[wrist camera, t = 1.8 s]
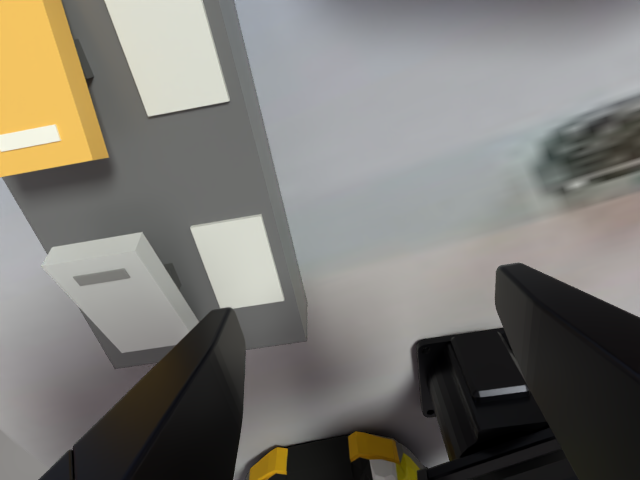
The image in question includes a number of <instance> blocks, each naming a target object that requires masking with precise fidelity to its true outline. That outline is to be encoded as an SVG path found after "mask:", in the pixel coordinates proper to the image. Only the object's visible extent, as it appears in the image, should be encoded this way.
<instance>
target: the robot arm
mask: <svg viewBox="0 0 640 480" xmlns="http://www.w3.org/2000/svg"><path fill="white" fill-rule="evenodd" d="M495 305H496V310H497V313H498V315H499V318H500V320H501V323H502V325H503V328H502V329H495V330H488V331H481V332H474V333H467V334H460V335H453V336H446V337H439V338H431V339H424V340H421V341H419V342H418V343H417V345H416V350H417V362H418V374H419V386H420V397H421V408H422V412H423V415H424V416H425V417H437V420H438V424H439V427H440V430H441V434H442V437H443V441H444V444H445V447H446V451H447V454H448V457H449V462H446V463H443V464H440V465H437V466H434V467H432V468H429V469H428V468H427V467H425V468H423V469H420V470H417V480H640V317H638V316H635V315H633V314H631V313H629V312H627V311H625V310H622V309H620V308H618V307H616V306H614V305H611V304H609V303H607V302H605V301H603V300H601V299H598V298H596V297H594V296H592V295H590V294H588V293H585V292H583V291H581V290H579V289H577V288H575V287H572V286H570V285H568V284H566V283H564V282H561V281H559V280H557V279H555V278H553V277H551V276H548V275H546V274H544V273H542V272H540V271H538V270H535V269H533V268H531V267H529V266H527V265H524V264H522V263H513V264H506V265H501V266H499V267H498V268H497V271H496V284H495ZM426 347H428V348H426ZM423 348H426V349H423ZM245 356H246V344H245V338H244V335H243V332H242V329H241V327H240V324H239V321H238V318H237V315H236V313H235V311H234V309H233V308H231V307H226V308H219V309H214V310H211V311H210V312H209V313H208V314H207V315H206V316H205V317H204V318H203V319H202V320H201V321H200V322H199V323H198V324H197V325H196V326H195V327H194V328H193V329H192V330H191V331H190V332H189V333H188V334H187V335H186V336H185V337H184V338H182V339H181V340H180V341H179V342H178V343H177V344H176V345H175V346H174V347H173V348H172V349H171V350H170V351H169V352H168V353H167V354H166V355H165V356H164V357H163V358H162V359H161V360H160V361H159V362H158V363H157V364H156V365H155V366H154V367H153V368H152V369H151V370H150V371H149V372H148V373H147V374H146V375H145V376H144V377H143V378H142V379H141V380H140V381H139V382H138V383H137V384H136V385H135V386H134V387H133V388H132V389H131V390H130V391H129V392H128V393H127V394H126V395H125V396H124V397H122V398H121V399H120V400H119V401H118V402H117V403H116V404H115V405H114V406H113V407H112V408H111V409H110V410H109V411H108V412H107V413H106V414H105V415H104V416H103V417H102V418H101V419H100V420H99V421H98V422H97V423H96V424H95V425H94V426H93V427H92V428H91V429H90V430H89V431H88V432H87V433H86V434H85V435H84V436H83V437H82V438H81V439H80V440H79V441H78V442H77V443H76V444H75V445H74V446H73V450H68V451H67V452H66V453H65V454H64V455H63V456H62V457H61V458H60V459H59V460H58V461H57V462H56V463H55V464H54V465H53V466H52V467H51V468H50V469H49V470H48V471H47V472H46V473H45V474H44V475H43V476H42V477H41V478H40V479H39V480H233V477H234V471H235V464H236V458H237V452H238V446H239V440H240V433H241V426H242V418H243V401H244V378H245Z"/></svg>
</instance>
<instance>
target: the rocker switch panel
mask: <svg viewBox="0 0 640 480" xmlns="http://www.w3.org/2000/svg"><path fill="white" fill-rule="evenodd" d="M61 2H62V5H63V8H64V11H65V15H66V18H67V21H68V25H69V28H70V31H71V34H72V38H73V41H74V44H75V47H76V51H77V54H78V57H79V60H80V64H81V67H82V70H83V74H84V77H85V80H86V83H87V87H88V90H89V93H90V96H91V100H92V103H93V106H94V109H95V113H96V116H97V119H98V123H99V126H100V129H101V132H102V136H103V139H104V142H105V145H106V149H107V152H108V155H109V158H104V159H98V160H93V161H88V162H82V163H77V164H71V165H66V166H60V167H55V168H49V169H44V170H38V171H33V172H28V173H22V174H17V175H11V176H5V177H2V178H3V180H4V181H5V183H6V185H7V187H8V188H9V190H10V192H11V193H12V195H13V197H14V198H15V200H16V202H17V204H18V205H19V207H20V209H21V210H22V212H23V214H24V215H25V217H26V219H27V221H28V222H29V224H30V226H31V227H32V229H33V231H34V232H35V234H36V236H37V238H38V239H39V241H40V243H41V244H42V246H43V248H44V249H45V251H46V253H47V255H48V253H49V252H50V250H51V248H52V247H57V246H62V245H68V244H74V243H80V242H86V241H92V240H98V239H104V238H110V237H116V236H122V235H128V234H134V233H140V232H143V234H144V236H145V237H146V239H147V240H148V242H149V244H150V245H151V247H152V248H153V250H154V251H155V253H156V255H157V256H158V258H159V259H160V261H161V263H162V264H163V266H164V267H165V269H166V270H167V272H168V274H169V275H170V277H171V278H172V280H173V282H174V283H175V285H176V286H177V288H178V289H179V291H180V293H181V294H182V296H183V297H184V299H185V301H186V302H187V304H188V305H189V307H190V308H191V310H192V312H193V313H194V315H195V316H196V318H197V319H198V321H199V322H200V321H201V320H202V319H203V318H204V317H205V316H206V315H207V314H208V313H209V312H210V311H211V310H214V309H219V308H226V307H231V308H233V309H234V311H235V313H236V315H237V318H238V321H239V324H240V327H241V329H242V332H243V335H244V338H245V344H246V350H249V349H256V348H263V347H270V346H277V345H284V344H291V343H298V342H305V341H307V300H306V296H305V292H304V287H303V283H302V279H301V275H300V271H299V267H298V263H297V259H296V255H295V250H294V246H293V242H292V238H291V234H290V230H289V226H288V222H287V217H286V213H285V209H284V205H283V201H282V197H281V193H280V189H279V184H278V180H277V176H276V172H275V168H274V164H273V160H272V156H271V152H270V147H269V143H268V139H267V135H266V131H265V127H264V123H263V119H262V114H261V110H260V106H259V102H258V98H257V94H256V90H255V86H254V81H253V77H252V73H251V69H250V65H249V61H248V57H247V53H246V49H245V44H244V40H243V36H242V32H241V28H240V24H239V20H238V16H237V11H236V7H235V3H234V0H61ZM79 309H80V308H79ZM80 311H81V312H82V314H83V316H84V317H85V319H86V321H87V322H88V324H89V326H90V328H91V329H92V331H93V333H94V334H95V336H96V338H97V339H98V341H99V343H100V344H101V346H102V348H103V350H104V351H105V353H106V355H107V356H108V358H109V360H110V361H111V363H112V365H113V367H114V368H115V369H118V368H125V367H132V366H139V365H145V364H152V363H158V362H159V361H160V360H161V359H162V358H163V357H164V356H165V355H166V354H167V353H168V352H169V351H170V350H171V349H172V348H173V347H174V346H175V345H173V346H166V347H159V348H152V349H146V350H139V351H132V352H125V353H121V352H120V351H119V349H118V348H117V347H116V346H115V345H114V344H113V343H112V342H111V341H110V340H109V339H108V338H107V337H106V336H105V334H104V333H103V332H102V331H101V330H100V329H99V328H98V327H97V326H96V325H95V324H94V323H93V322H92V321H91V319H90V318H89V317H88V316H87V315H86V314H85V313H84V312H83V311H82V310H81V309H80Z"/></svg>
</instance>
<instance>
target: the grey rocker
mask: <svg viewBox="0 0 640 480" xmlns="http://www.w3.org/2000/svg"><path fill="white" fill-rule="evenodd" d="M41 267H42V268H43V269H44V270H45V271H46V272H47V273H48V275H49V276H50V277H51V278H52V279H53V280H54V281H55V282H56V283H57V284H58V285H59V286H60V287H61V288H62V290H63V291H64V292H65V293H66V294H67V295H68V296H69V297H70V298H71V299H72V300H73V301H74V302H75V303H76V305H77V306H78V307H79V308H80V309H81V310H82V311H83V312H84V313H85V314H86V315H87V316H88V317H89V318H90V319H91V321H92V322H93V323H94V324H95V325H96V326H97V327H98V328H99V329H100V330H101V331H102V332H103V333H104V334H105V336H106V337H107V338H108V339H109V340H110V341H111V342H112V343H113V344H114V345H115V346H116V347H117V348H118V349H119V351H120V352H121V353H125V352H132V351H139V350H146V349H152V348H159V347H166V346H173V345H176V344H177V343H178V342H179V341H180V340H181V339H182V338H184V337H185V336H186V335H187V334H188V333H189V332H190V331H191V330H192V329H193V328H194V327H195V326H196V325H197V324H198V323H199V321H198V319H197V318H196V316H195V315H194V313H193V312H192V310H191V308H190V307H189V305H188V304H187V302H186V301H185V299H184V297H183V296H182V294H181V293H180V291H179V289H178V288H177V286H176V285H175V283H174V282H173V280H172V278H171V277H170V275H169V274H168V272H167V270H166V269H165V267H164V266H163V264H162V263H161V261H160V259H159V258H158V256H157V255H156V253H155V251H154V250H153V248H152V247H151V245H150V244H149V242H148V240H147V239H146V237H145V236H144V234H143V232H140V233H134V234H128V235H122V236H116V237H110V238H104V239H98V240H92V241H86V242H80V243H74V244H68V245H62V246H57V247H52V248H51V250H50V252H49V253H48V255H47V257H46V259H45V260H44V262H43V264H42V265H41Z"/></svg>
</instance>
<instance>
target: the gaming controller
mask: <svg viewBox="0 0 640 480" xmlns="http://www.w3.org/2000/svg"><path fill="white" fill-rule="evenodd" d="M423 468H425V467H424V466H423V465H422V464H421V463H420V461H419V460H418V459H417V458H416V457H415V456H414V455H413V454H412V453H411V451H410V450H409V449H408V448H406V447H405V446H403V445H402V444H399V443H398V442H397V441H396V440H395V439H393V438H388V437H383V436H377V435H371V434H368V433H364V432H357V431H355V432H354V433H352V434H351V435H350V436H348V435H346V436H341V437H336V438H331V439H326V440H321V441H316V442H311V443H306V444H302V445H297V446H292V447H288V449H287V448H280V447H277V448H275V449H273V450H272V451H270V452H269V453H268V454H267V455H265V456H264V457H263V458H262V459H261V460H260V461H259V462H257V463H256V464H255V465H253V467H252V468H250V472H249V473H248V474H247V477H246V480H417V470H420V469H423Z"/></svg>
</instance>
